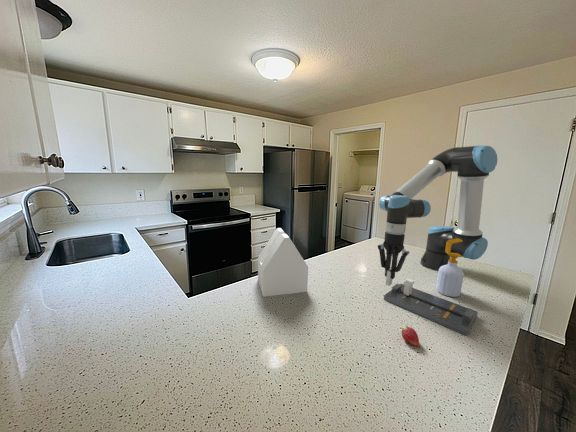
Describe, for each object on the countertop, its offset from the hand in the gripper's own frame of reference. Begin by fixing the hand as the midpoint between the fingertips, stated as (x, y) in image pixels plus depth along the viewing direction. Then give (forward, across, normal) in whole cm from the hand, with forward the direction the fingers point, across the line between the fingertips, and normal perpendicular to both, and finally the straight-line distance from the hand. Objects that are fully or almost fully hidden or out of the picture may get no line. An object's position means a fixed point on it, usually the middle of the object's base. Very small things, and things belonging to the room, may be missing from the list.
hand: (388, 284), depth 103 cm
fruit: (+4, +19, -25) cm, 32 cm away
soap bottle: (+4, +18, +20) cm, 27 cm away
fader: (+1, +8, 0) cm, 8 cm away
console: (+3, +16, 0) cm, 16 cm away
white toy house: (+4, -34, -33) cm, 47 cm away
